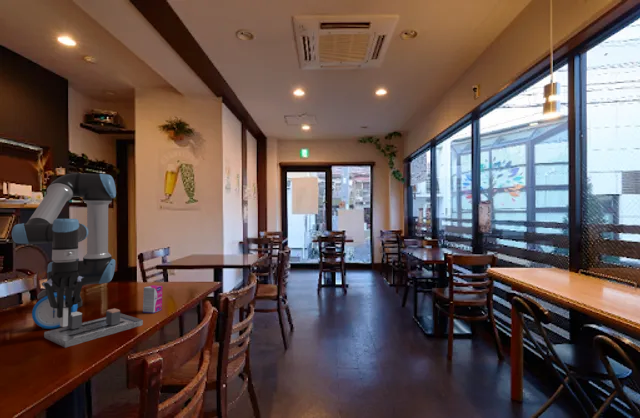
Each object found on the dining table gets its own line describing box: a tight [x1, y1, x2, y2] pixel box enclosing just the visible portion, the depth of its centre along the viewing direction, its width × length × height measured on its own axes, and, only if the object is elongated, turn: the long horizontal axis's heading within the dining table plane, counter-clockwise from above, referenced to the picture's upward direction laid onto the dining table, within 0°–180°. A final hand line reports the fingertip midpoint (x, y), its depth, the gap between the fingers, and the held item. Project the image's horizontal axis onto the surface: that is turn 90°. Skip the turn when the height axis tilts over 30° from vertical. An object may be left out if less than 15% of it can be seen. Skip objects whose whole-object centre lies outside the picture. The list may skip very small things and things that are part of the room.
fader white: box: [66, 311, 83, 329], centre depth 119 cm, size 4×3×5 cm
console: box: [43, 312, 144, 349], centre depth 122 cm, size 17×26×2 cm, turn 149°
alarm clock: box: [31, 288, 79, 331], centre depth 127 cm, size 13×6×15 cm, turn 115°
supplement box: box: [142, 284, 163, 315], centre depth 147 cm, size 6×6×12 cm
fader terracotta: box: [105, 307, 121, 326], centre depth 123 cm, size 4×3×5 cm
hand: (63, 325), depth 117 cm, fingers closed
